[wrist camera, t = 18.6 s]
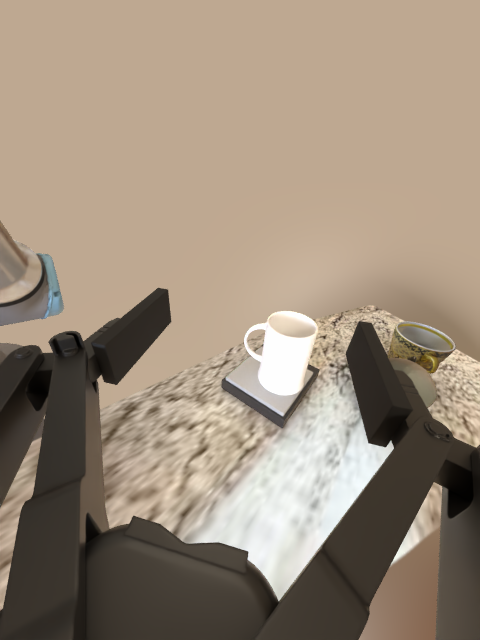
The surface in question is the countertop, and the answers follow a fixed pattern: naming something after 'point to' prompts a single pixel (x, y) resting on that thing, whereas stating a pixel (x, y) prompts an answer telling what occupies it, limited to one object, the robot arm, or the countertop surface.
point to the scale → (265, 391)
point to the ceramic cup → (421, 345)
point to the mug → (284, 351)
